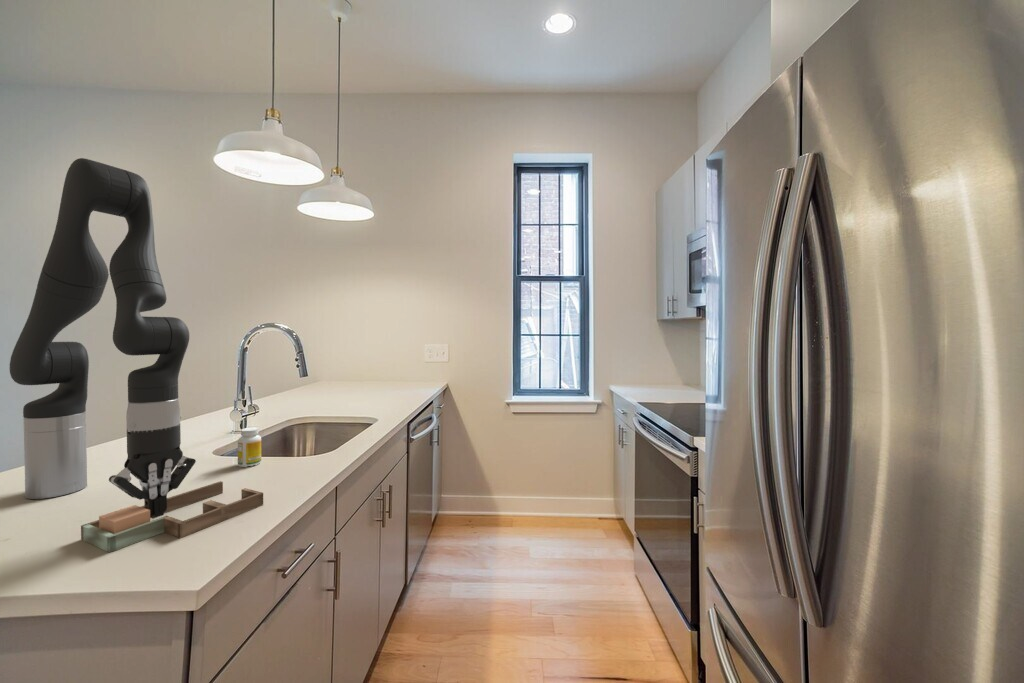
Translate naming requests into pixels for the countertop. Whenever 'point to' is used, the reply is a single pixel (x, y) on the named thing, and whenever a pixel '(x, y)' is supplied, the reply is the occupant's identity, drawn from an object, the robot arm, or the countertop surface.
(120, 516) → the terracotta block
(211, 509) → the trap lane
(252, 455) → the supplement bottle
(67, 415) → the robot arm
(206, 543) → the countertop surface
